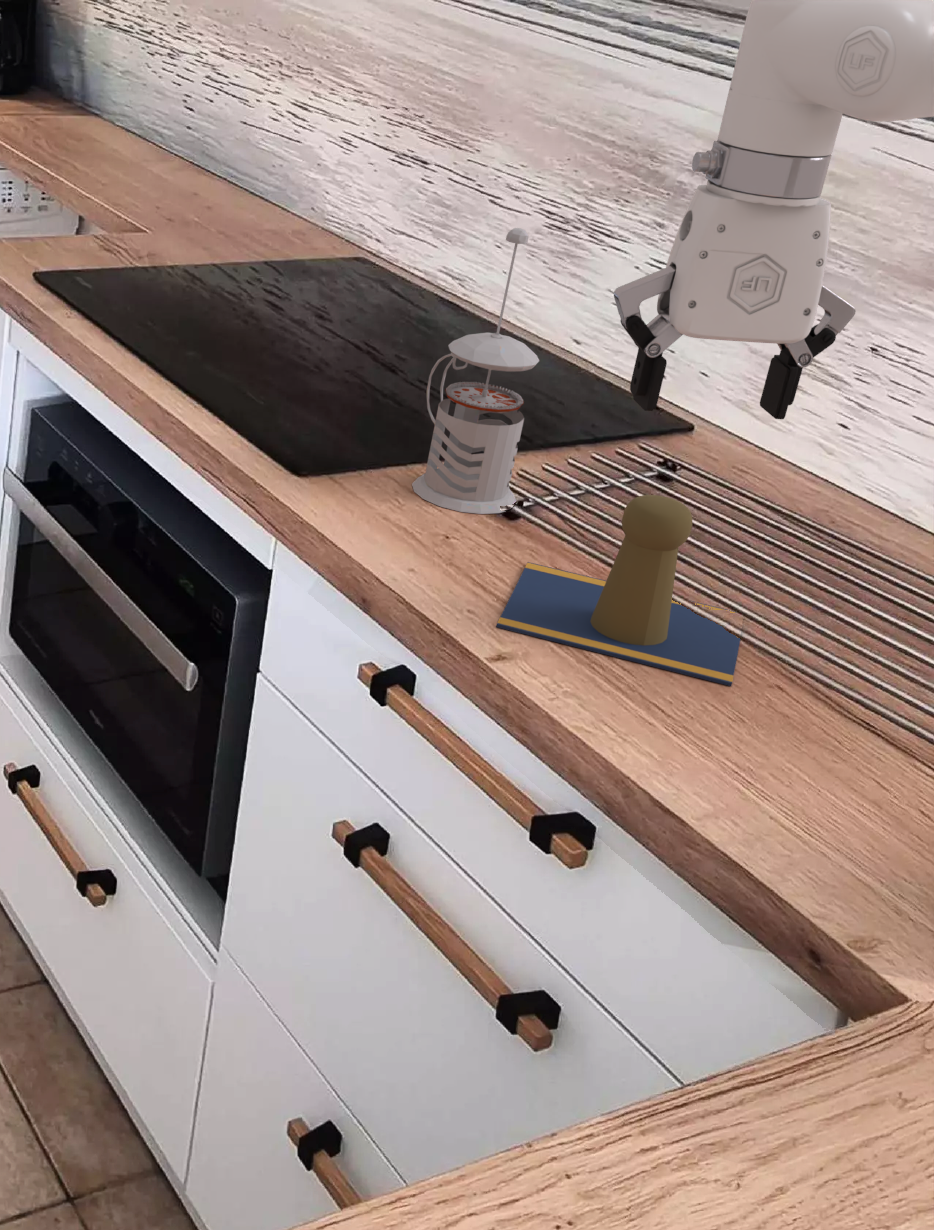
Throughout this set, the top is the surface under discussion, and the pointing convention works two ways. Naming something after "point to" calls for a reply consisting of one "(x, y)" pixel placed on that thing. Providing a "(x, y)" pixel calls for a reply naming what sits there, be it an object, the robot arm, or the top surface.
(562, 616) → the cloth
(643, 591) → the cork
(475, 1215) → the top surface
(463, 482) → the french press
